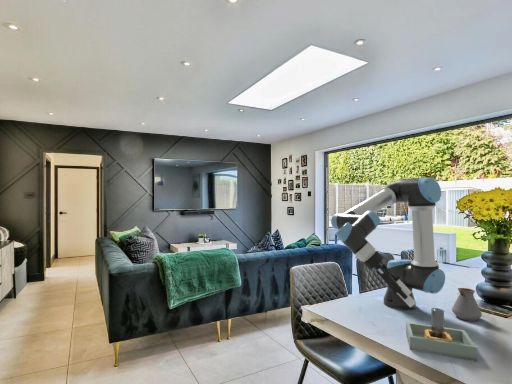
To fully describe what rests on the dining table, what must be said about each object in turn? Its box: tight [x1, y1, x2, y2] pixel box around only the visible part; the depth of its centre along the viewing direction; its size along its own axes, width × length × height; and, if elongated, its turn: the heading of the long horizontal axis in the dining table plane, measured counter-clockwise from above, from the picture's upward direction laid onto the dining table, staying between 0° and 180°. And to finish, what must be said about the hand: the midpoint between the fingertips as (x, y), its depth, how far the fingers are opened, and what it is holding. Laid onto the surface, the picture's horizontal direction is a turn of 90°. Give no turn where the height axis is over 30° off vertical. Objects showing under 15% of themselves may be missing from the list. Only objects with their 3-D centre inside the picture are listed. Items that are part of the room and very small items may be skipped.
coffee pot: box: [451, 287, 483, 322], centre depth 139 cm, size 21×12×15 cm, turn 138°
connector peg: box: [430, 307, 445, 339], centre depth 113 cm, size 4×4×12 cm
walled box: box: [405, 321, 478, 362], centre depth 113 cm, size 15×20×4 cm
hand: (411, 299), depth 117 cm, fingers open, 13 cm apart
